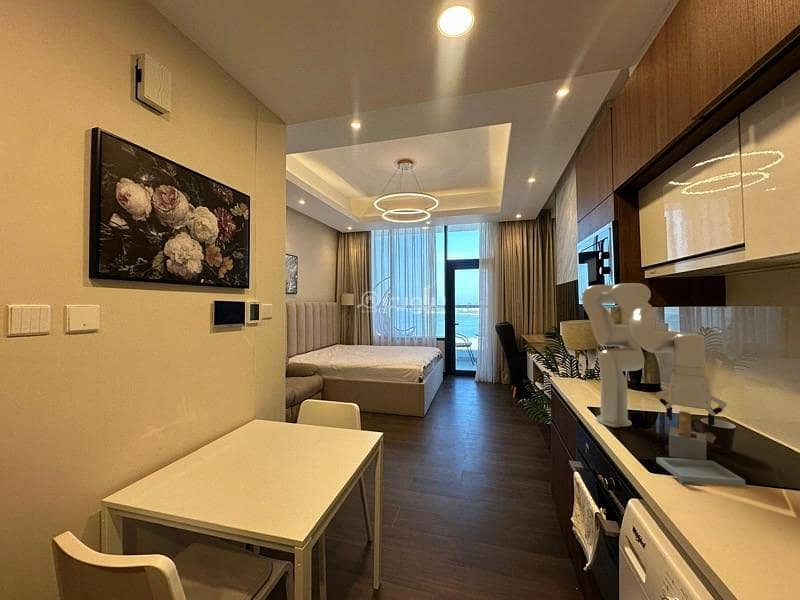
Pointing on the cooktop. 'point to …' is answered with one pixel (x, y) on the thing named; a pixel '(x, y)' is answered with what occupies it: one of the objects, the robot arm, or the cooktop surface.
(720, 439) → the coffee mug
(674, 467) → the slate tray
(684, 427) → the brown upright block
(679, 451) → the grey notched box
